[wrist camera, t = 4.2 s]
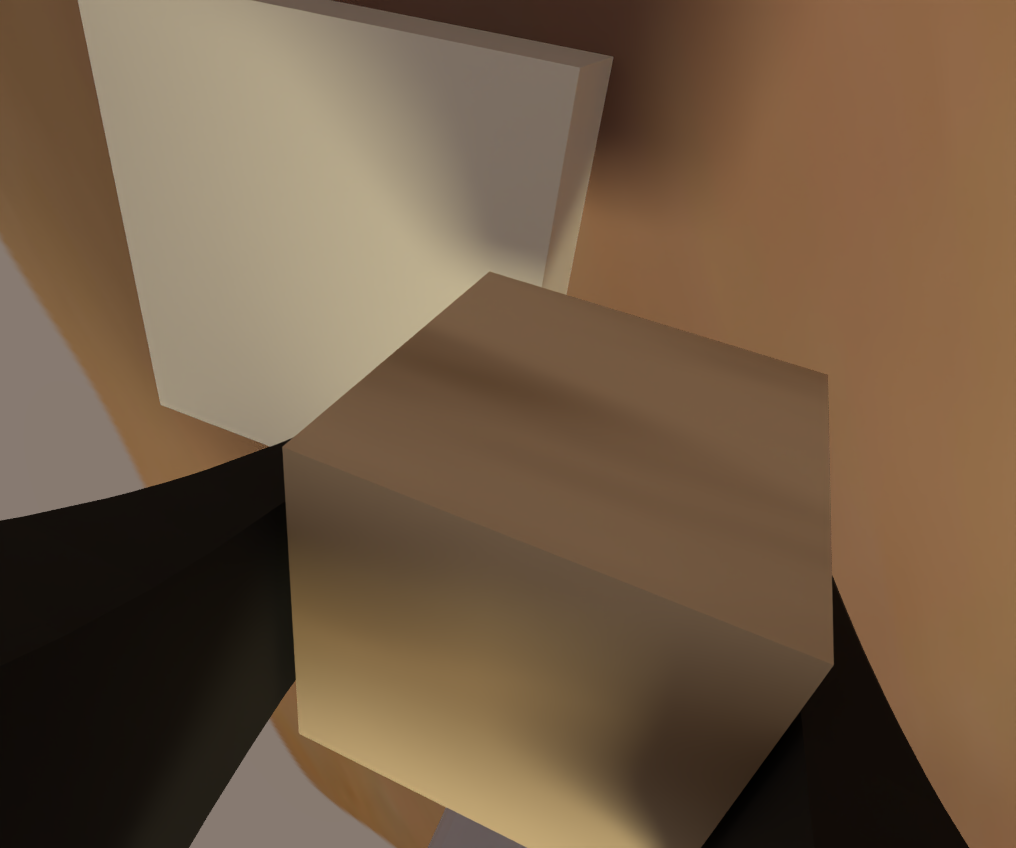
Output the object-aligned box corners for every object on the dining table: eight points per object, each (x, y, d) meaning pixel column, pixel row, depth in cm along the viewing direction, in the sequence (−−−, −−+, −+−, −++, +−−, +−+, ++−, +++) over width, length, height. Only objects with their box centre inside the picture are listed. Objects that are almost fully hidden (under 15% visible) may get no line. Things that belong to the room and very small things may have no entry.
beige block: (533, 474, 22) (498, 533, 19) (224, 364, 24) (160, 404, 22) (618, 54, 15) (580, 67, 12) (171, -34, 17) (69, -38, 15)
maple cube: (708, 611, 12) (654, 911, 8) (454, 511, 13) (299, 733, 9) (827, 375, 9) (832, 664, 5) (489, 270, 10) (282, 446, 6)
